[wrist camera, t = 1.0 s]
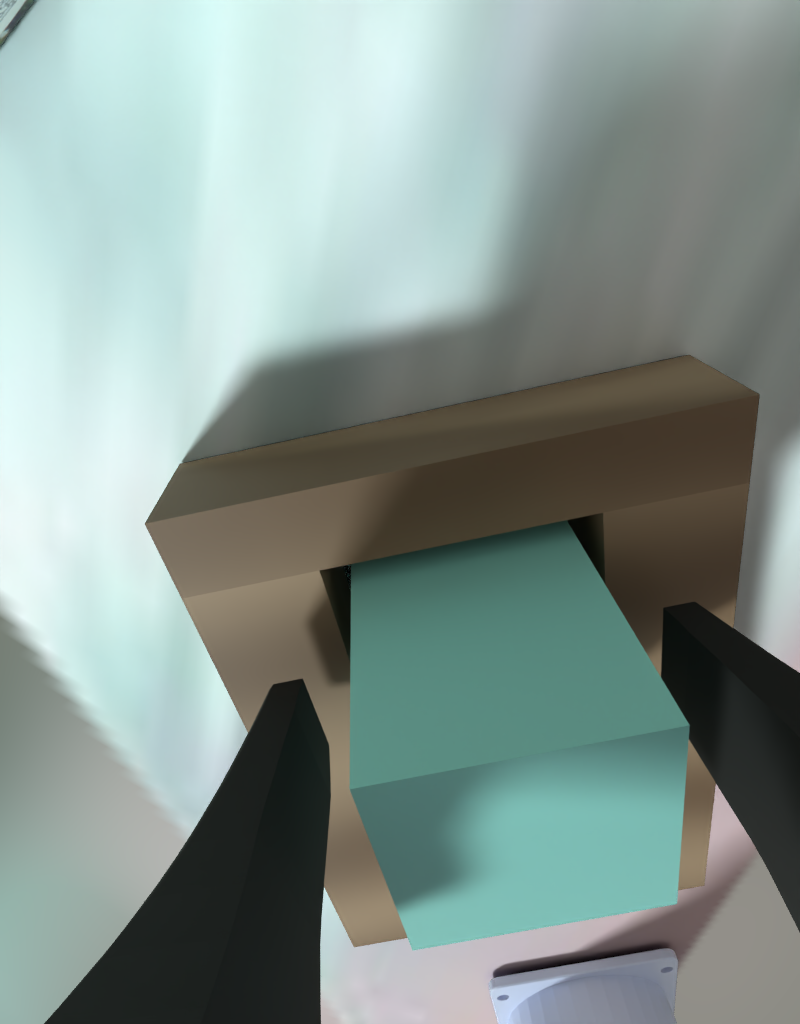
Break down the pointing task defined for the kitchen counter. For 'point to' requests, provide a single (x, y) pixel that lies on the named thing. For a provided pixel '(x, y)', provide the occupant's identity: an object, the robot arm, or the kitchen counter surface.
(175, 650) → the kitchen counter surface
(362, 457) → the pocket plate
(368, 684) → the teal block
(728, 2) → the kitchen counter surface
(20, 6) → the syrup box
